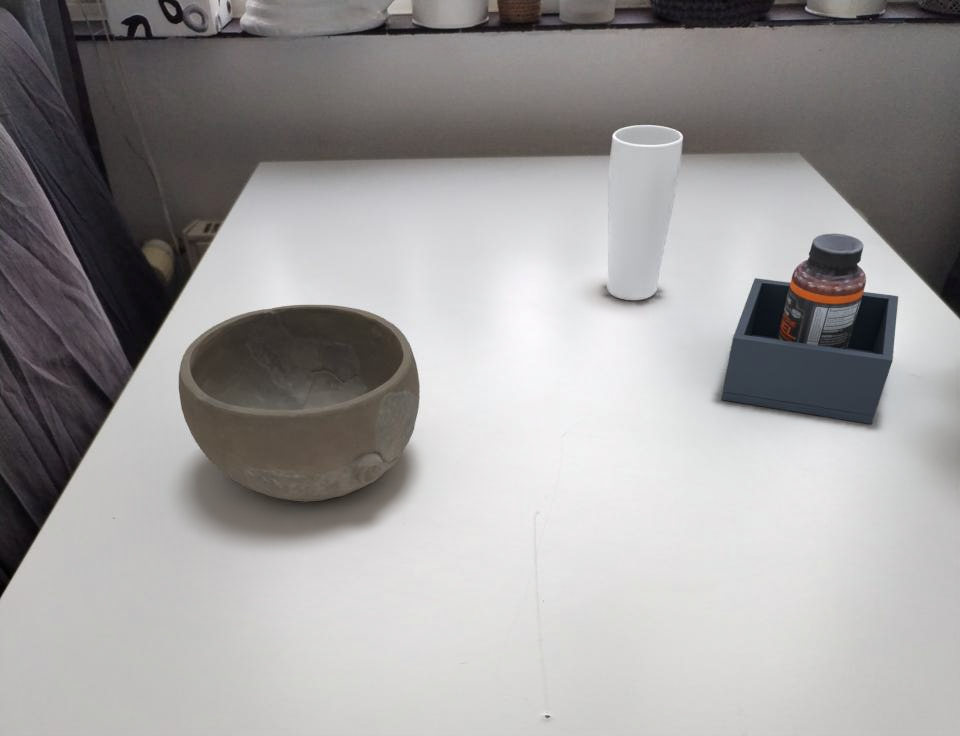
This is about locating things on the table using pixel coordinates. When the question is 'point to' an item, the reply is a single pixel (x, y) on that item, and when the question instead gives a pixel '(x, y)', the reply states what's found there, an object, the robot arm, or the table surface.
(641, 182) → the drinking glass
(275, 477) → the bowl
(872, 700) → the table surface
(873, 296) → the bin
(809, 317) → the supplement bottle
